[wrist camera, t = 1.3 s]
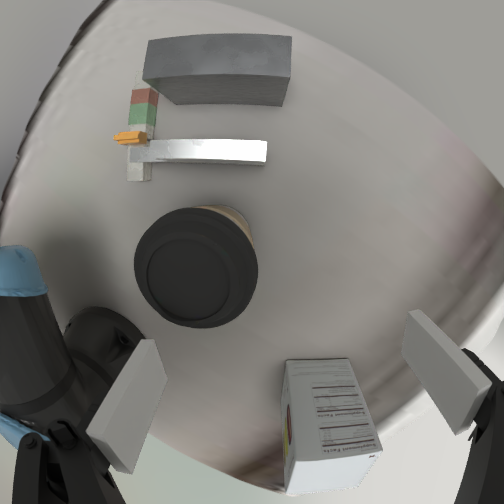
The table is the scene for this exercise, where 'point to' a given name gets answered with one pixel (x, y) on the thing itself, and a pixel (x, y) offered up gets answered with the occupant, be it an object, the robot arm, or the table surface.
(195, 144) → the light grey slab
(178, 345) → the table surface
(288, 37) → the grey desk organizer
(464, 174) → the table surface
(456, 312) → the table surface
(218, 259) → the coffee cup
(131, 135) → the orange stepped block
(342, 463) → the supplement box
